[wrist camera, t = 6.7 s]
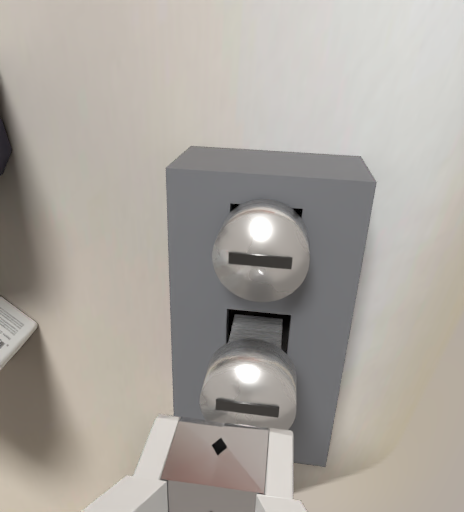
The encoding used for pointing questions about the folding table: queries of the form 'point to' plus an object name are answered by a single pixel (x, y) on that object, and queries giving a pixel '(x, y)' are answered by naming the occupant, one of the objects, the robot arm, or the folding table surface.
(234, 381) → the middle knob
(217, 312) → the control panel
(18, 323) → the ink box
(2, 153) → the speaker
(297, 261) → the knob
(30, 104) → the folding table surface
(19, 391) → the folding table surface
